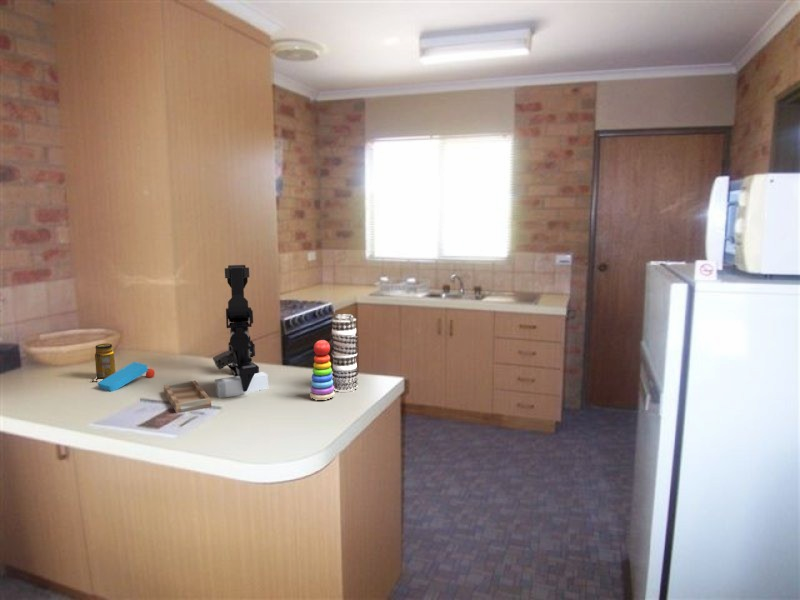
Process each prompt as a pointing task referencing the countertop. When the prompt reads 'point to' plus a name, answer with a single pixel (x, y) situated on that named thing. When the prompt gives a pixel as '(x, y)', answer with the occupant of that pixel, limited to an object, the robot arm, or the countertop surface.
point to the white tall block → (240, 385)
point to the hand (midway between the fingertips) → (242, 388)
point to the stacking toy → (322, 373)
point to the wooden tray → (187, 396)
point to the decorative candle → (344, 352)
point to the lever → (125, 376)
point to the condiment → (104, 361)
